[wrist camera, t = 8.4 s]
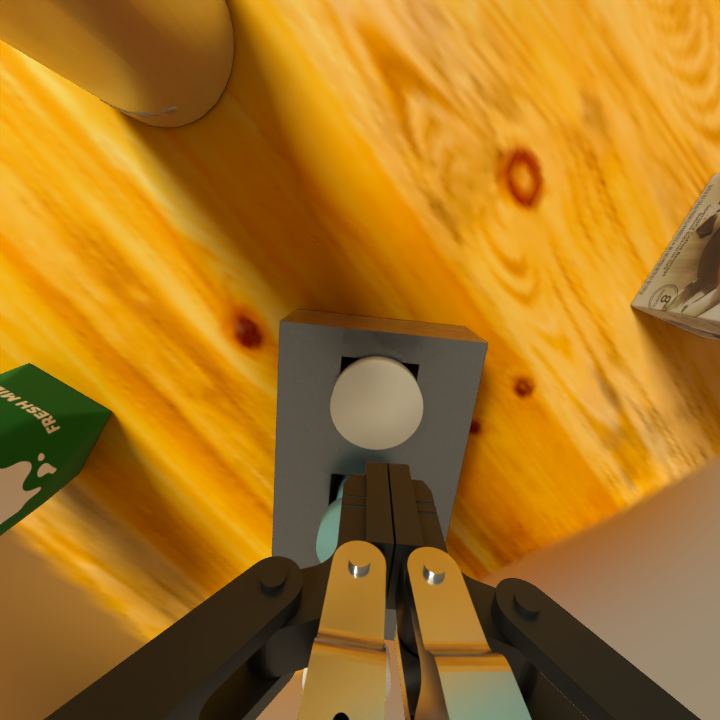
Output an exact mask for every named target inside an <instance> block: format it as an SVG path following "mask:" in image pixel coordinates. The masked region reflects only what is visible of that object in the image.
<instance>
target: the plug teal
mask: <svg viewBox="0 0 720 720" xmlns="http://www.w3.org/2000/svg"><path fill="white" fill-rule="evenodd" d="M349 476H350V475H342V474H341V476H340V479H339V486H338V493H337V500H336V501H334V502H333V503H331V504H330V505H329V506H328V507H327V508H326V510H325V511H324V513H323V515H322V517H321V521H320V526H319V531H318V536H317V542H316V552H317V556H318V559H319V561H320V563H323V562H324V561H326V560H327V559H328V558H329V557H330V556H331V555H332V554H333V553H334V551H335V549H336V547H337V542H338V533H339V523H340V513H341V504H342V494H343V485H344V482H345V481H346V479H347V478H348V477H349Z"/></svg>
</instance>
